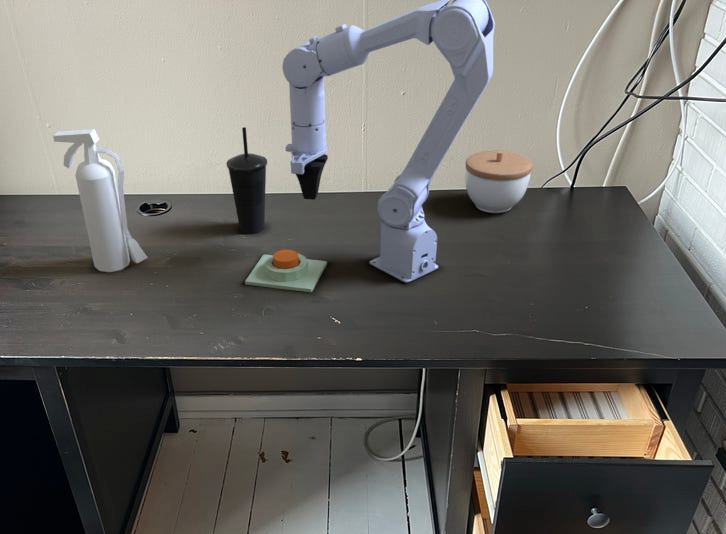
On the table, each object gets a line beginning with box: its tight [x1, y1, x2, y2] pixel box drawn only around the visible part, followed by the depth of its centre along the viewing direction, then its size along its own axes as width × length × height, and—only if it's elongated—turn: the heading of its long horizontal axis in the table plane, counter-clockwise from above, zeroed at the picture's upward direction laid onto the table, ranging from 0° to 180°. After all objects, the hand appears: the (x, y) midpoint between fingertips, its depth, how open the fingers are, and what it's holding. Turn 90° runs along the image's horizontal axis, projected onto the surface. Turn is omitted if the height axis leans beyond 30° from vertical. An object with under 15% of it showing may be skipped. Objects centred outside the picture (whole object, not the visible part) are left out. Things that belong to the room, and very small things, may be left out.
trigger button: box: [272, 249, 299, 269], centre depth 128 cm, size 4×4×2 cm
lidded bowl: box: [464, 149, 534, 214], centre depth 145 cm, size 13×13×11 cm
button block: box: [244, 253, 328, 293], centre depth 129 cm, size 12×10×2 cm
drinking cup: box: [225, 126, 268, 235], centre depth 139 cm, size 8×8×20 cm
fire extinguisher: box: [52, 128, 149, 273], centre depth 128 cm, size 7×12×25 cm, turn 77°
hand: (310, 197), depth 130 cm, fingers closed
